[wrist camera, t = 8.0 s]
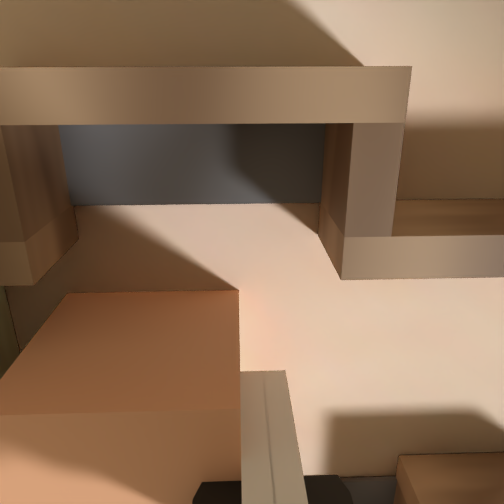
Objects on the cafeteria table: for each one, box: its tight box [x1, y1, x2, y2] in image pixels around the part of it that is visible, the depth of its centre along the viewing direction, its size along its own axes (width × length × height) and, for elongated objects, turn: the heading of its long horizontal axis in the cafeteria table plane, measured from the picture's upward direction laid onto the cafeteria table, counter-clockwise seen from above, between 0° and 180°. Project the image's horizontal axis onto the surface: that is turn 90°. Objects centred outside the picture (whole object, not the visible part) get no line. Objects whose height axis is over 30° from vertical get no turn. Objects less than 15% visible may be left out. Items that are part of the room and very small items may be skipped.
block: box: [0, 290, 241, 504], centre depth 14 cm, size 6×6×6 cm
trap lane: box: [0, 66, 504, 504], centre depth 14 cm, size 22×20×6 cm
